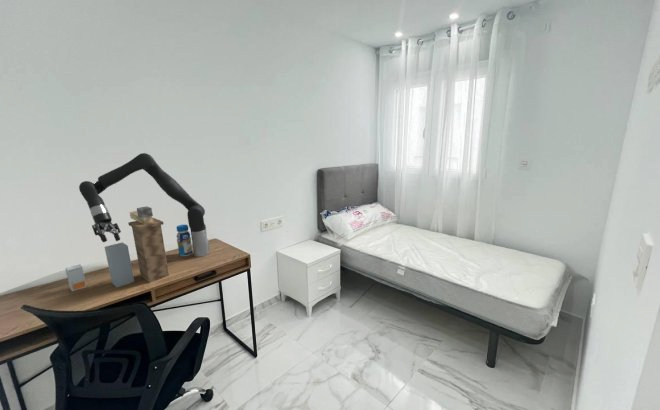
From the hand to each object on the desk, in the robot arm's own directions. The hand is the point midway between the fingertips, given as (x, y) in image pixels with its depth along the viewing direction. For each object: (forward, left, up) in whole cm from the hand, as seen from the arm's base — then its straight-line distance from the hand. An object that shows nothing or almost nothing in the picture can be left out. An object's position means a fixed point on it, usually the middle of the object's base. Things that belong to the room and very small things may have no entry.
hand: (111, 241), depth 156 cm
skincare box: (+16, -7, -21) cm, 28 cm away
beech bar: (-8, +14, +11) cm, 20 cm away
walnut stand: (-6, +20, -21) cm, 30 cm away
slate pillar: (+5, +10, -21) cm, 24 cm away
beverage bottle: (-36, +13, -21) cm, 44 cm away
